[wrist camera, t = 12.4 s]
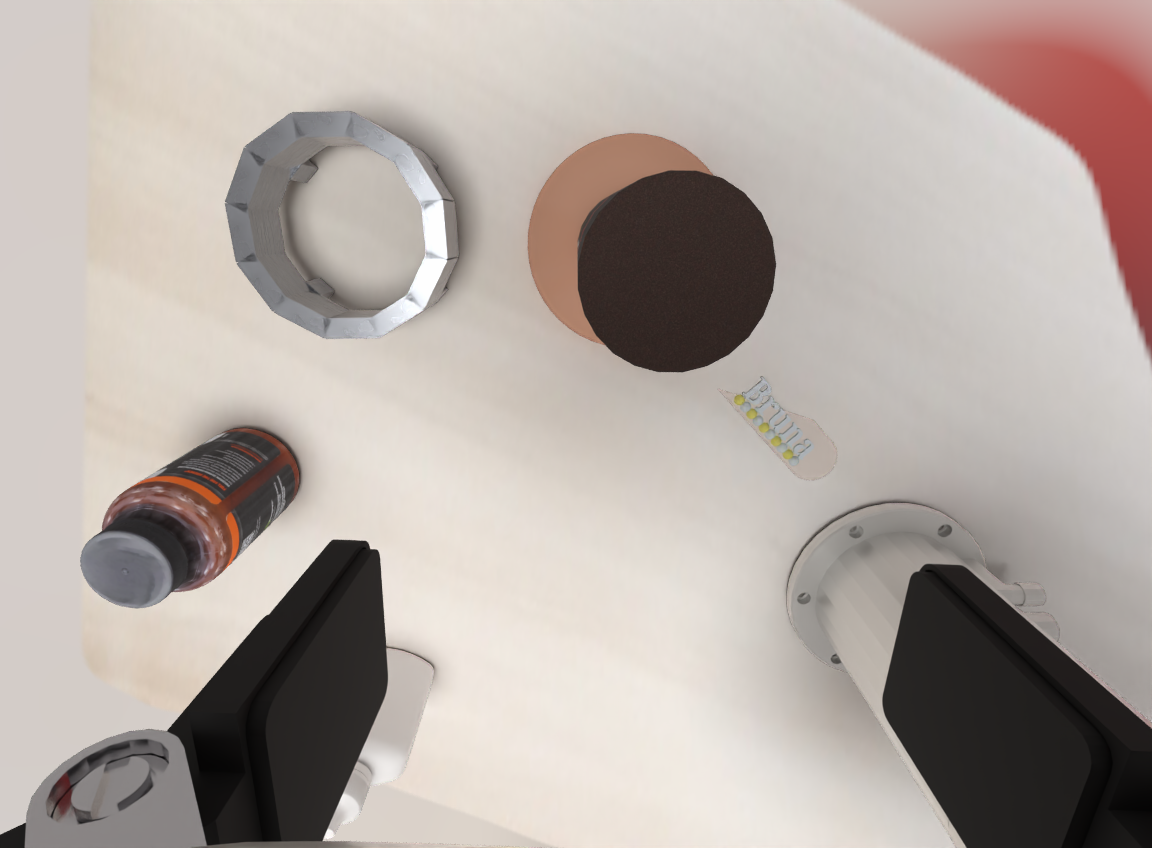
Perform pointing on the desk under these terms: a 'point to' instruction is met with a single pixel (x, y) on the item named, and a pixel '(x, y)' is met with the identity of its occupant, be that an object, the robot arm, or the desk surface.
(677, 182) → the deodorant
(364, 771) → the eye dropper bottle
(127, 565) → the supplement bottle
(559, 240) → the coaster
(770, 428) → the keychain
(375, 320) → the ring stand
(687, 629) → the desk surface
